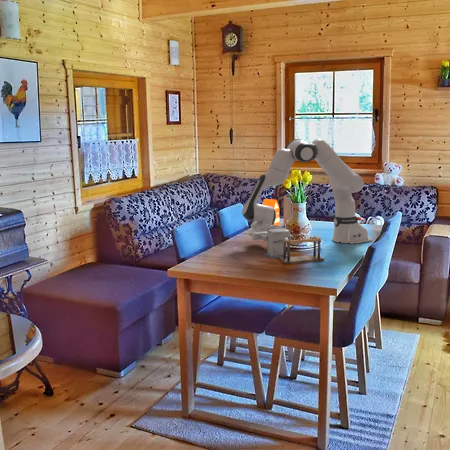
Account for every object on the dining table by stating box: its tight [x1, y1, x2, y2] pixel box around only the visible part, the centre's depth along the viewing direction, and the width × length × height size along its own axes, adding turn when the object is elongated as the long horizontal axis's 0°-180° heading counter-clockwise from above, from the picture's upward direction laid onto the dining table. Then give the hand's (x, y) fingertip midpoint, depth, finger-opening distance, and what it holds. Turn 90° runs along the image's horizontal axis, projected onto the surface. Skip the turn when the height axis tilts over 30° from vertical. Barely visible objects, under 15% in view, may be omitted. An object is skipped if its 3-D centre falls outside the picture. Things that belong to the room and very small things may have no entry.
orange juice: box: [262, 198, 280, 225], centre depth 342 cm, size 8×9×20 cm
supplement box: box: [266, 229, 285, 256], centre depth 282 cm, size 7×7×13 cm
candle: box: [283, 195, 291, 227], centre depth 357 cm, size 7×14×20 cm, turn 79°
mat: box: [263, 252, 287, 259], centre depth 284 cm, size 10×10×1 cm
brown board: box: [279, 254, 325, 265], centre depth 273 cm, size 20×8×1 cm, turn 105°
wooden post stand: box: [283, 235, 322, 261], centre depth 272 cm, size 17×6×10 cm, turn 105°
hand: (275, 237), depth 284 cm, fingers open, 8 cm apart
